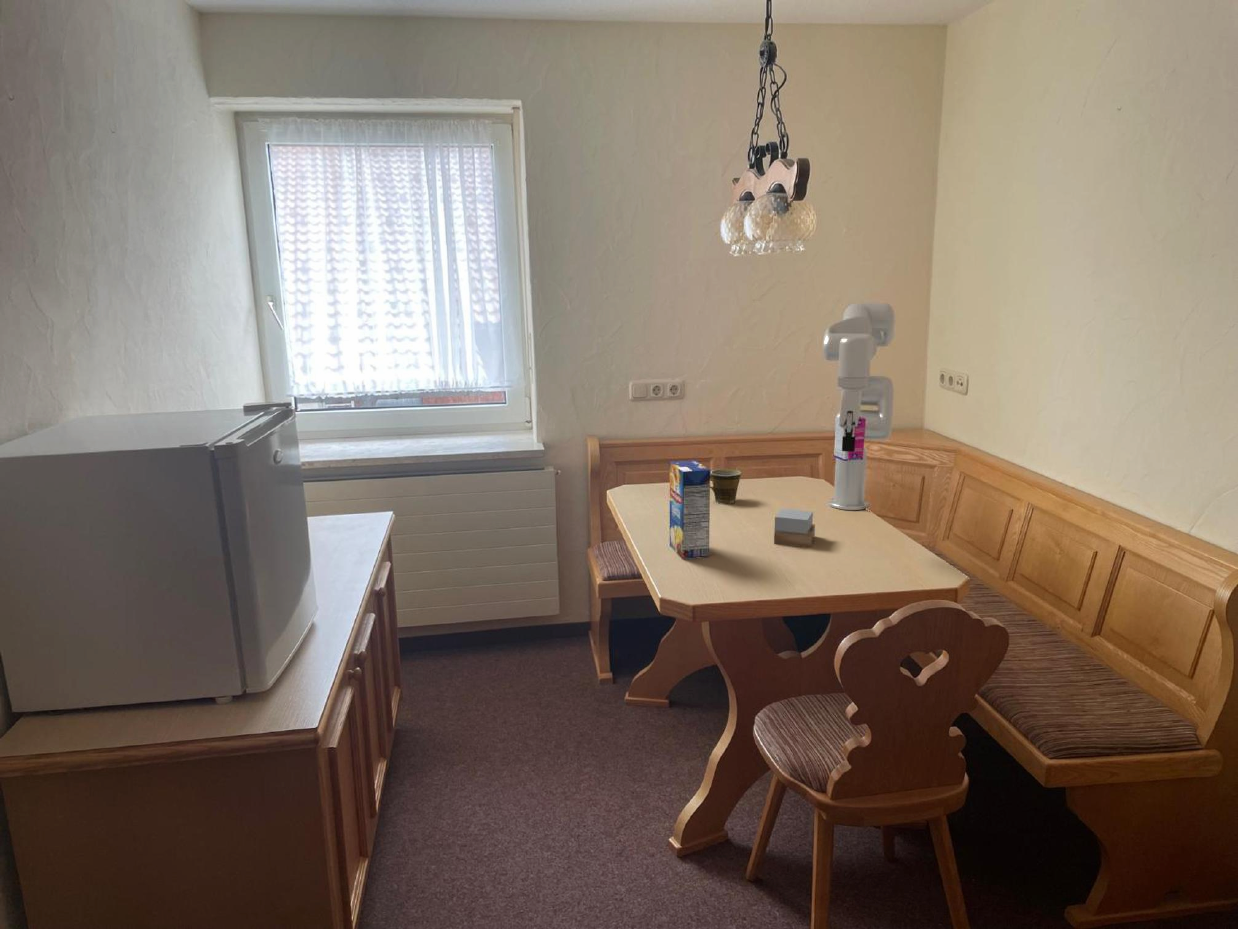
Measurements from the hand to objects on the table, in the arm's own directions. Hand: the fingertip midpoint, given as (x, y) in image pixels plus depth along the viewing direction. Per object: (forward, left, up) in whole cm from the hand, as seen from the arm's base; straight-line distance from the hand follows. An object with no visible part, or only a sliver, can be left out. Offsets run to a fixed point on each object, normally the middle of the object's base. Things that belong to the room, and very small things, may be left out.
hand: (848, 447), depth 216 cm
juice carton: (+18, -40, -28) cm, 52 cm away
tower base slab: (0, -14, -28) cm, 31 cm away
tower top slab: (0, -14, -24) cm, 28 cm away
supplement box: (0, 0, -3) cm, 3 cm away
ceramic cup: (-35, -43, -28) cm, 62 cm away
